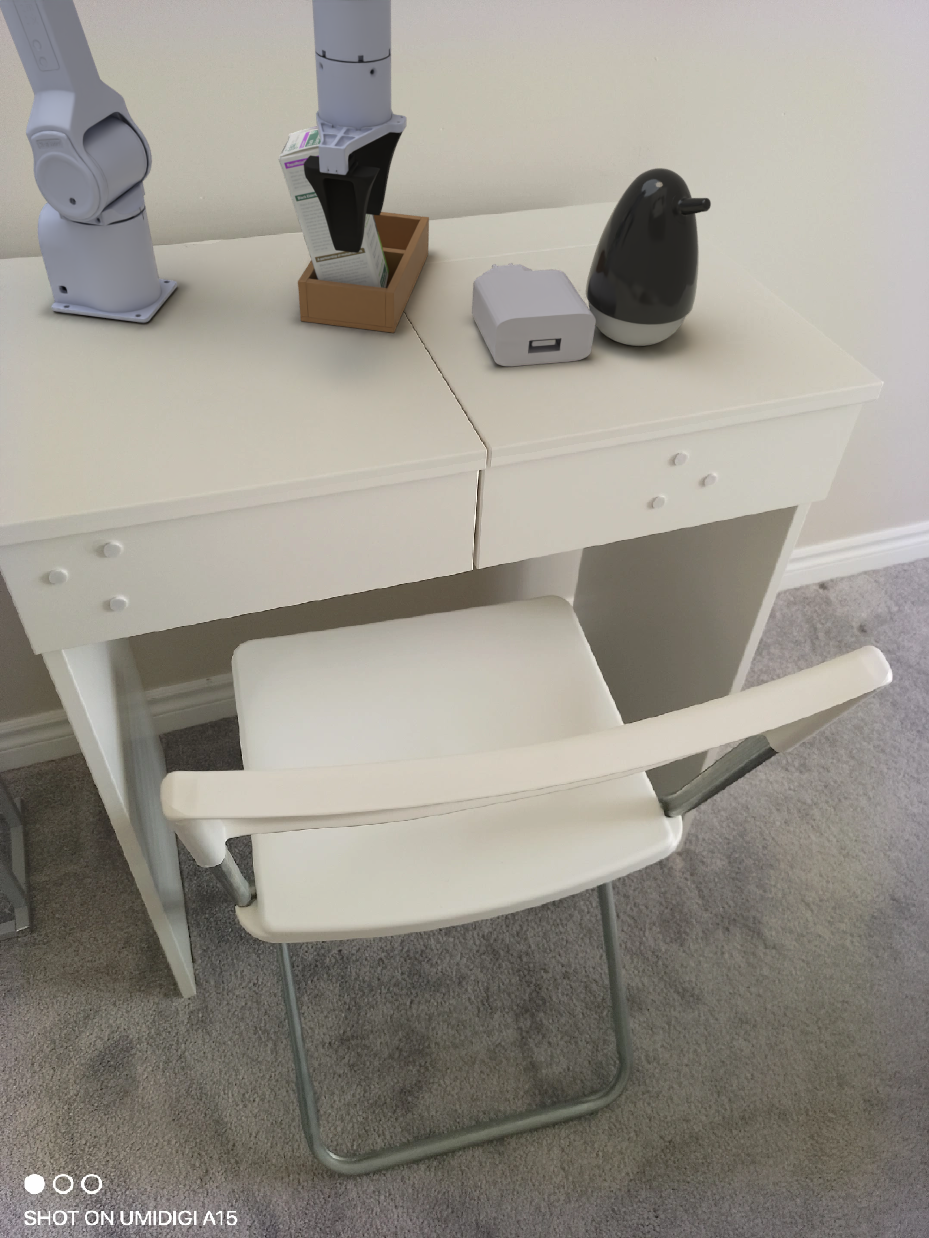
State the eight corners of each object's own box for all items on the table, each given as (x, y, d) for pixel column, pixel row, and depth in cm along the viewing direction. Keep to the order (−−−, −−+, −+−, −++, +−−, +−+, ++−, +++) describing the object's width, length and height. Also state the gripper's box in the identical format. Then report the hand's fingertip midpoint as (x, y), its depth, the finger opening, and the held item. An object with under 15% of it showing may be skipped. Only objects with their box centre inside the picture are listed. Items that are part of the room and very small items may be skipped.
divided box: (300, 321, 91) (297, 281, 88) (345, 244, 103) (344, 207, 100) (394, 333, 90) (393, 293, 87) (428, 254, 102) (429, 217, 99)
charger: (543, 285, 98) (589, 360, 88) (456, 291, 97) (493, 368, 86) (548, 240, 95) (597, 312, 85) (458, 245, 93) (497, 319, 83)
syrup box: (384, 301, 90) (342, 141, 80) (325, 311, 91) (276, 154, 81) (389, 273, 94) (350, 118, 84) (332, 283, 95) (286, 130, 85)
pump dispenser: (638, 372, 87) (673, 204, 76) (558, 327, 92) (579, 163, 82) (708, 339, 92) (749, 177, 81) (628, 298, 97) (656, 140, 87)
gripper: (384, 86, 66) (386, 274, 76) (423, 31, 76) (421, 203, 86) (285, 76, 67) (300, 263, 76) (338, 23, 77) (344, 194, 87)
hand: (358, 231), depth 81 cm, fingers open, 7 cm apart
